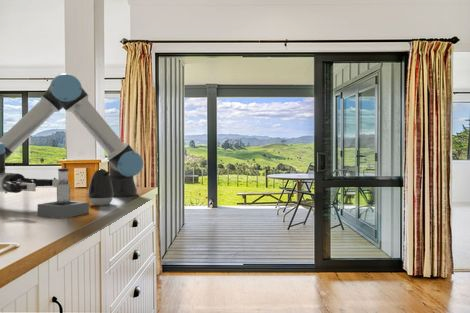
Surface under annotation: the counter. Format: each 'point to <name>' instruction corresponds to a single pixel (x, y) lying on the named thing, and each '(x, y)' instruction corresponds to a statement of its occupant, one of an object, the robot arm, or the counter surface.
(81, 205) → the socket block
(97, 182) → the dark grey egg shape
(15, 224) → the counter surface
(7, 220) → the counter surface
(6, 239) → the counter surface
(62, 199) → the tube
